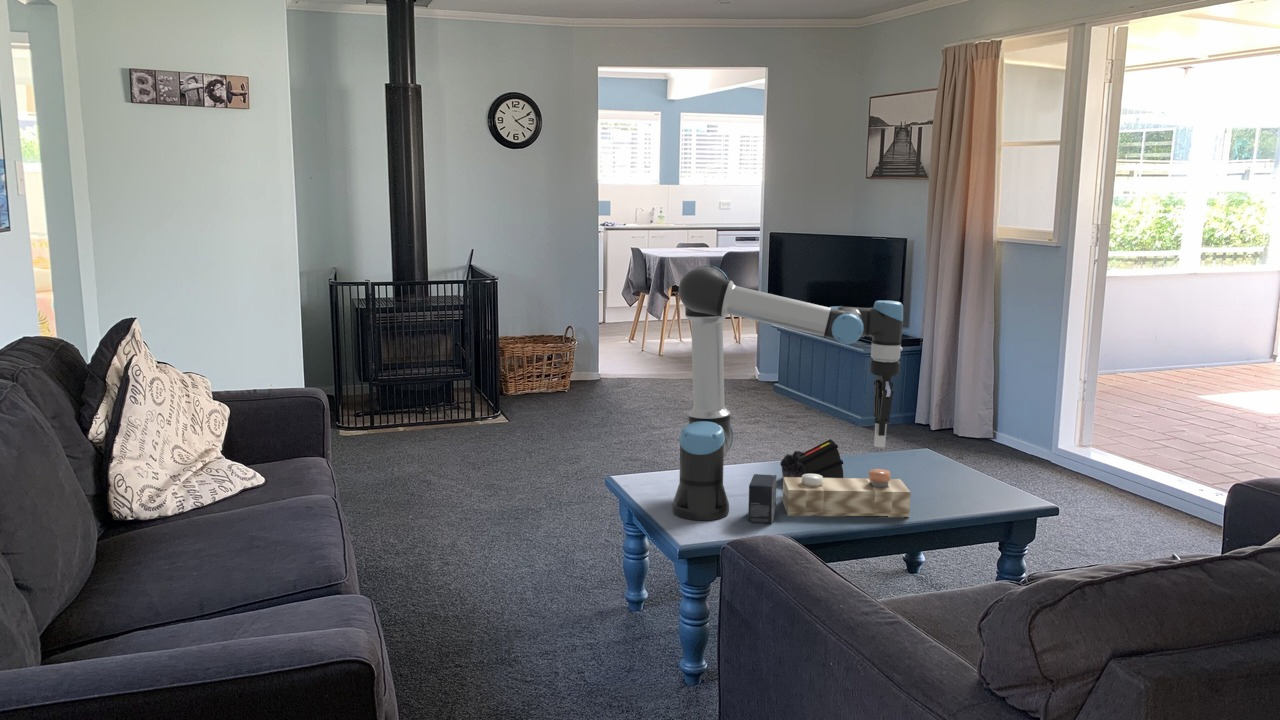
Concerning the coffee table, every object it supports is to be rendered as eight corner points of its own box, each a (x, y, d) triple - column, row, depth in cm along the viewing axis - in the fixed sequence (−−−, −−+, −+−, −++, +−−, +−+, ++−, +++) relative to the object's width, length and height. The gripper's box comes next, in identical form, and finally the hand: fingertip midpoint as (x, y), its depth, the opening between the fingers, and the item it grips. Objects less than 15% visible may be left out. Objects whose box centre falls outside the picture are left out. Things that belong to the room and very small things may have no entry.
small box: (752, 510, 261) (753, 472, 260) (776, 512, 260) (777, 474, 258) (746, 523, 251) (748, 484, 249) (772, 525, 250) (773, 486, 248)
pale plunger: (802, 506, 260) (803, 479, 259) (799, 499, 265) (800, 473, 264) (823, 506, 260) (824, 479, 259) (820, 500, 265) (821, 473, 264)
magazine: (855, 486, 278) (835, 441, 275) (814, 507, 277) (794, 462, 274) (850, 482, 282) (831, 438, 278) (810, 503, 281) (790, 458, 277)
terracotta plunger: (870, 501, 259) (871, 474, 258) (865, 495, 265) (867, 468, 263) (891, 502, 259) (892, 474, 258) (886, 495, 265) (887, 469, 263)
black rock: (825, 477, 295) (823, 445, 295) (827, 486, 282) (826, 452, 281) (780, 479, 297) (779, 446, 296) (781, 488, 284) (779, 454, 283)
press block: (787, 515, 257) (788, 490, 256) (782, 501, 269) (783, 477, 268) (909, 517, 256) (910, 492, 255) (898, 503, 268) (900, 479, 267)
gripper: (905, 364, 249) (899, 453, 253) (894, 355, 262) (888, 440, 266) (876, 363, 249) (870, 452, 253) (866, 355, 262) (860, 439, 266)
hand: (879, 446), depth 260 cm, fingers closed
